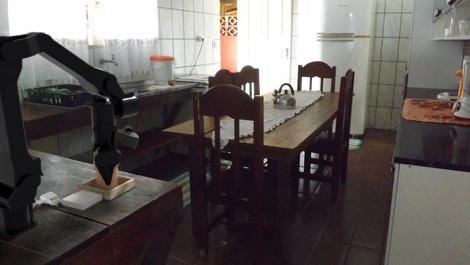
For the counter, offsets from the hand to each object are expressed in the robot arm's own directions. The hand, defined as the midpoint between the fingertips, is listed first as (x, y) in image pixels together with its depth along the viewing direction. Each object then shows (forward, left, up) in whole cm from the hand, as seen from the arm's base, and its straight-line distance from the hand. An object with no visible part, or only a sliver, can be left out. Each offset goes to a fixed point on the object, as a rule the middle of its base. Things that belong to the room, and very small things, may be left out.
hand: (107, 178), depth 99 cm
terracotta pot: (0, 0, -3) cm, 3 cm away
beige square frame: (0, 0, -3) cm, 3 cm away
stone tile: (-9, 0, -3) cm, 10 cm away
